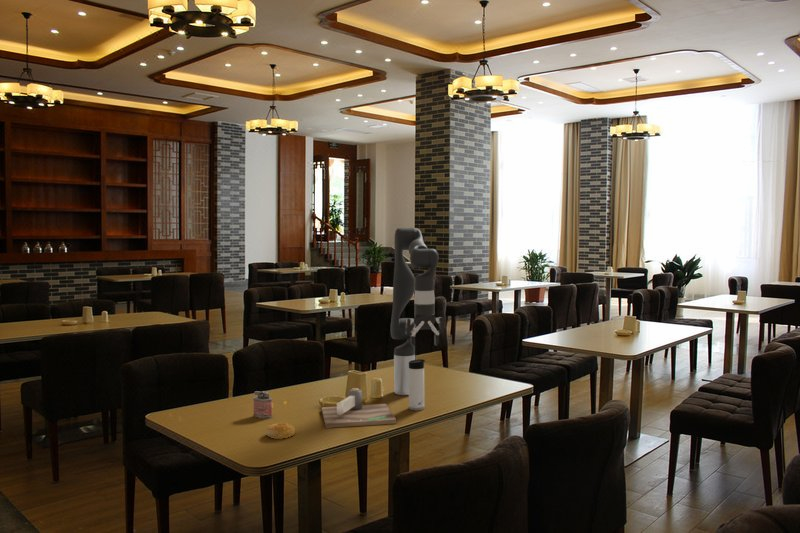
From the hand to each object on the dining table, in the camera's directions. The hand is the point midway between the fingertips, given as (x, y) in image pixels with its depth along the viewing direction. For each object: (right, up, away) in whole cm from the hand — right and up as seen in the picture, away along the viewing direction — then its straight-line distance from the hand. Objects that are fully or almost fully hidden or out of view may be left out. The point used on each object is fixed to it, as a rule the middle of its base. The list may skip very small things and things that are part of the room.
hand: (424, 345), depth 244 cm
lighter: (-63, -29, +10) cm, 70 cm away
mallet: (-29, -27, +9) cm, 41 cm away
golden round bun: (-51, -31, -13) cm, 61 cm away
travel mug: (-2, -28, +20) cm, 34 cm away
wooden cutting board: (-26, -29, +8) cm, 39 cm away
